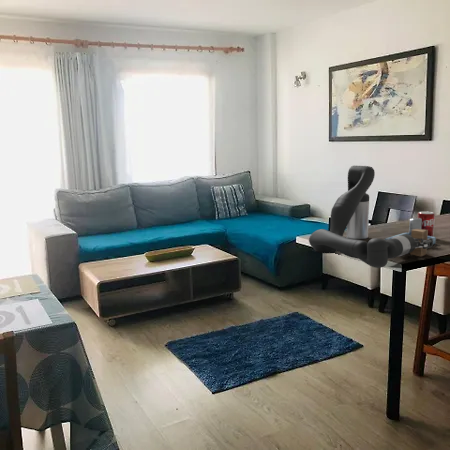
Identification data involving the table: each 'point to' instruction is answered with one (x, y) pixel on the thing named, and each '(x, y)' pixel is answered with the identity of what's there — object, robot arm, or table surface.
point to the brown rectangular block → (420, 234)
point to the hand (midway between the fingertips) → (421, 239)
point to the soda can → (427, 221)
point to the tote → (408, 234)
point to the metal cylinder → (414, 224)
